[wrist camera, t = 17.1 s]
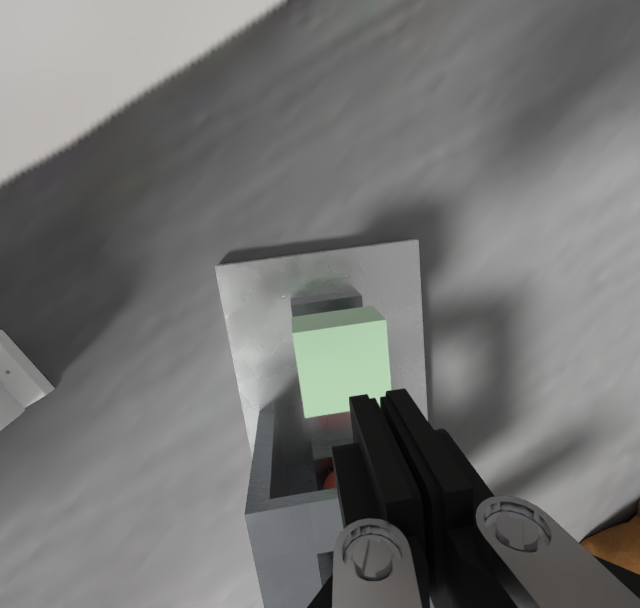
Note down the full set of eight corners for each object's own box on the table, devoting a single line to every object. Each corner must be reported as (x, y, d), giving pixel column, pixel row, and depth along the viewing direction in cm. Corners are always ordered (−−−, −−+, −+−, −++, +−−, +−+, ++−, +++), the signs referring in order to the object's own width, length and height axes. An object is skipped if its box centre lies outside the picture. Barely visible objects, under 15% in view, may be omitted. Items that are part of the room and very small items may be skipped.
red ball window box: (269, 532, 26) (261, 694, 17) (218, 264, 21) (168, 296, 12) (427, 503, 27) (497, 644, 18) (412, 238, 22) (499, 251, 13)
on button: (301, 378, 19) (304, 418, 16) (290, 309, 18) (292, 333, 15) (371, 367, 20) (392, 403, 16) (365, 298, 19) (386, 319, 15)
